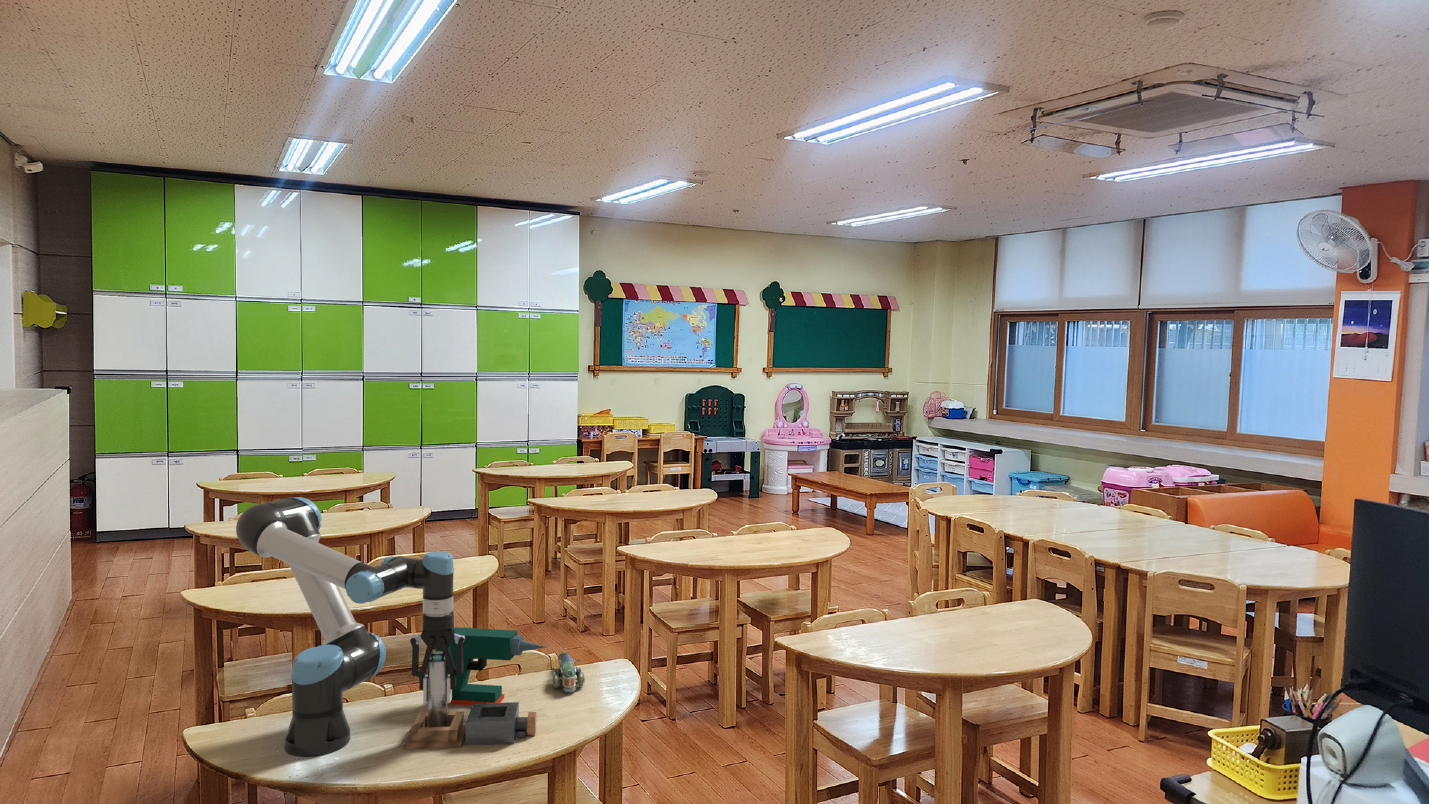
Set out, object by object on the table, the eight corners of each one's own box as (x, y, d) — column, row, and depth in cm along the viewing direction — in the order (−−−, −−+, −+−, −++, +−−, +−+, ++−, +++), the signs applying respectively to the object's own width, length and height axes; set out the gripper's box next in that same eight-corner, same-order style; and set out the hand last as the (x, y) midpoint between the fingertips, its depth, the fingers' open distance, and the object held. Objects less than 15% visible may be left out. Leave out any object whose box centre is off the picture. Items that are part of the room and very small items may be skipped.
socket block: (465, 745, 221) (465, 722, 220) (472, 725, 233) (473, 703, 232) (523, 743, 222) (523, 720, 222) (527, 723, 234) (527, 701, 234)
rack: (403, 749, 218) (403, 733, 218) (415, 725, 232) (415, 710, 232) (460, 747, 220) (460, 731, 219) (469, 723, 233) (469, 709, 233)
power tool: (550, 700, 251) (551, 631, 250) (543, 709, 244) (544, 639, 243) (443, 693, 254) (444, 626, 253) (433, 703, 247) (433, 633, 246)
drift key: (504, 736, 226) (505, 718, 226) (506, 730, 230) (506, 712, 229) (535, 735, 227) (535, 717, 227) (536, 729, 230) (536, 711, 230)
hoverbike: (553, 696, 254) (553, 668, 253) (548, 666, 278) (548, 641, 277) (586, 694, 256) (586, 666, 256) (578, 664, 280) (578, 639, 280)
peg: (425, 732, 223) (425, 657, 222) (429, 724, 228) (429, 650, 227) (445, 731, 223) (446, 656, 222) (449, 723, 228) (449, 650, 227)
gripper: (397, 617, 219) (397, 708, 220) (472, 616, 221) (471, 706, 223) (404, 609, 227) (404, 696, 228) (476, 608, 229) (475, 694, 230)
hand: (437, 701), depth 225 cm, fingers open, 5 cm apart
